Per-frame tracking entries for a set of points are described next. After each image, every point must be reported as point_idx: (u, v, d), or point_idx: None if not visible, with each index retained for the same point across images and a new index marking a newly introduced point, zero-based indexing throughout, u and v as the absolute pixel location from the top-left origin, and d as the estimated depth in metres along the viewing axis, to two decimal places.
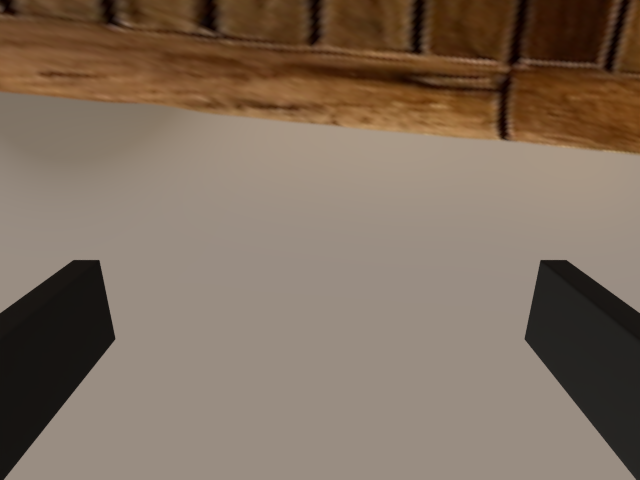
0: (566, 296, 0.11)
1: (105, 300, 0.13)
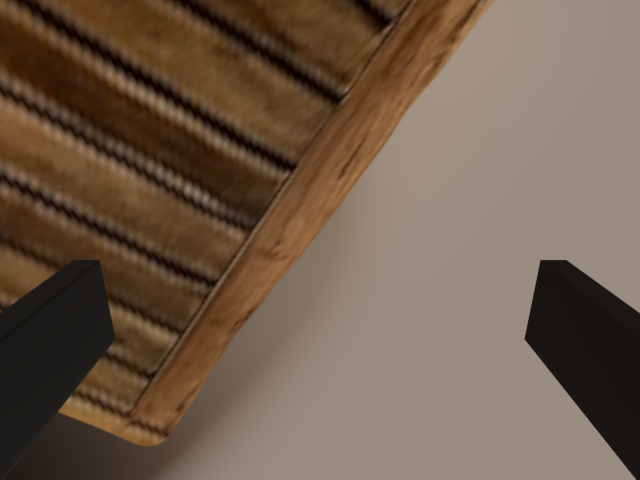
0: (565, 296, 0.11)
1: (105, 300, 0.13)
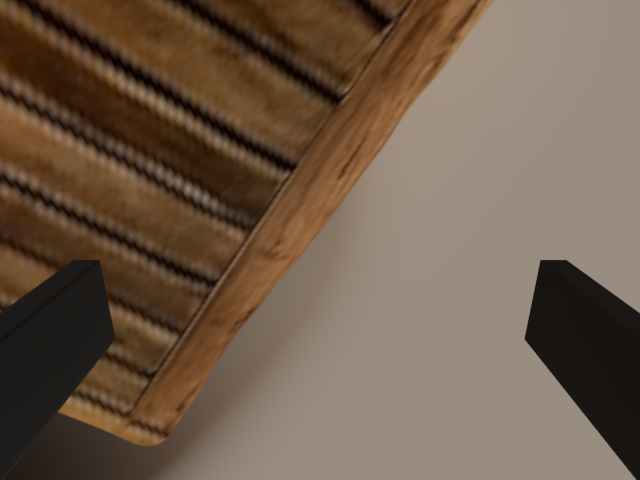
0: (565, 296, 0.11)
1: (105, 300, 0.13)
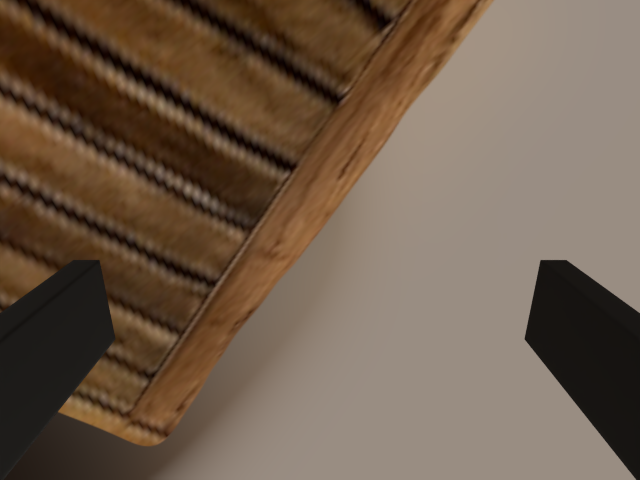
0: (565, 296, 0.11)
1: (105, 300, 0.13)
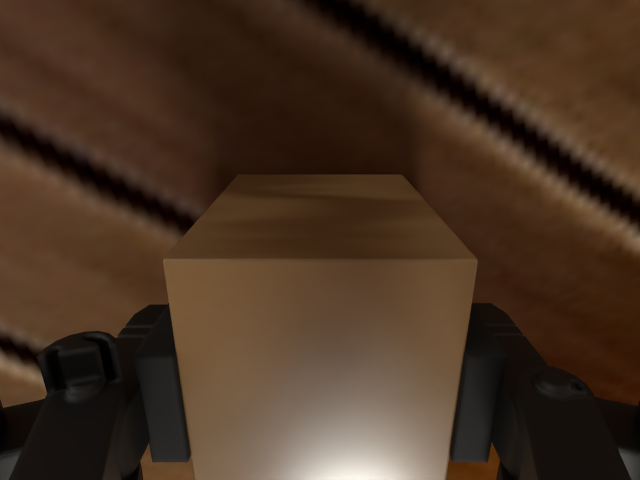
0: None
1: None
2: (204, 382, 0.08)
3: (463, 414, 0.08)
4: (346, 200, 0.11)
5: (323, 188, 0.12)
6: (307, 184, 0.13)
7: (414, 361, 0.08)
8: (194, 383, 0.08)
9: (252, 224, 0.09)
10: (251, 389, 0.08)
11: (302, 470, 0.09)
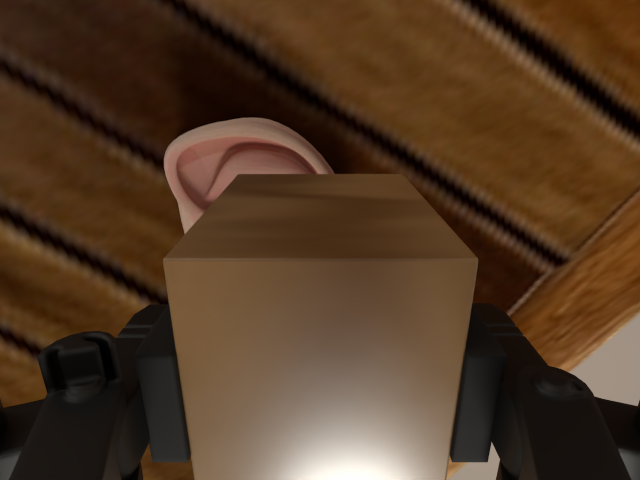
0: None
1: None
2: (205, 381, 0.08)
3: (463, 414, 0.08)
4: (346, 199, 0.11)
5: (323, 188, 0.12)
6: (307, 184, 0.13)
7: (414, 360, 0.08)
8: (194, 383, 0.08)
9: (252, 224, 0.09)
10: (251, 388, 0.08)
11: (302, 470, 0.09)
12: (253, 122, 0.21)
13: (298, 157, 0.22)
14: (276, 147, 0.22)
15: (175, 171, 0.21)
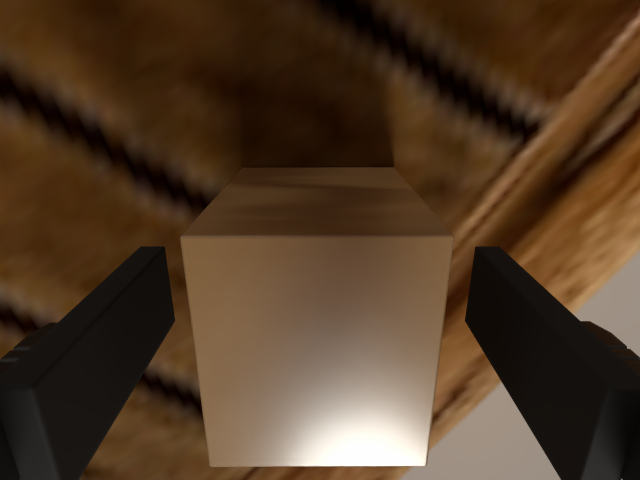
0: (491, 277, 0.12)
1: (168, 284, 0.14)
2: (215, 346, 0.09)
3: (594, 451, 0.08)
4: (341, 189, 0.12)
5: (320, 179, 0.13)
6: (306, 176, 0.14)
7: (399, 327, 0.09)
8: (206, 348, 0.09)
9: (256, 209, 0.10)
10: (256, 352, 0.10)
11: (302, 427, 0.10)
12: None
13: None
14: None
15: None
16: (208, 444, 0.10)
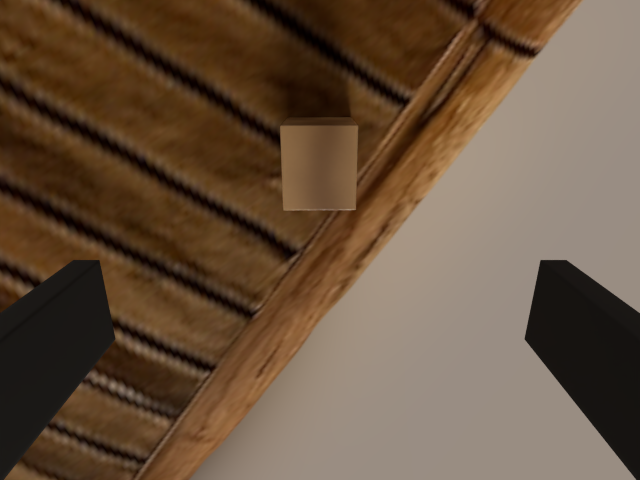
0: (566, 296, 0.11)
1: (105, 300, 0.13)
2: (288, 162, 0.31)
3: None
4: (327, 120, 0.34)
5: (320, 119, 0.35)
6: (314, 118, 0.36)
7: (343, 155, 0.31)
8: (285, 162, 0.31)
9: (299, 122, 0.32)
10: (300, 164, 0.31)
11: (314, 193, 0.32)
12: None
13: None
14: None
15: None
16: (283, 200, 0.32)
